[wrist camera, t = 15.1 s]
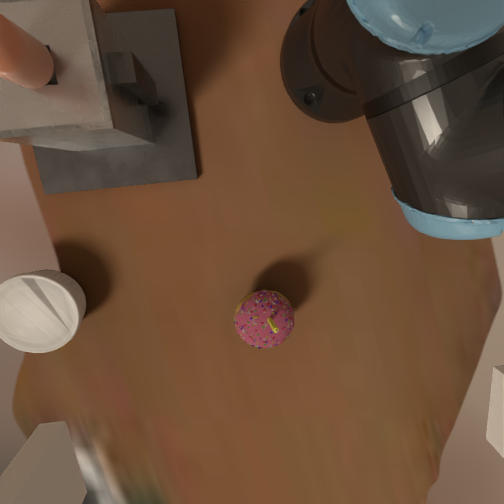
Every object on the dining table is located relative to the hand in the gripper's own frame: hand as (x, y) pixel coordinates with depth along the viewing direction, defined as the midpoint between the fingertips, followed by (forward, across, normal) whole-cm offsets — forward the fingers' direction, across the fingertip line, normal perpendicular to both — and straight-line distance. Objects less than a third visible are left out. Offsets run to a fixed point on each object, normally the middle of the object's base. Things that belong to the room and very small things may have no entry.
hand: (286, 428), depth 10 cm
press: (+38, -16, +17) cm, 44 cm away
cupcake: (+38, +1, -13) cm, 41 cm away
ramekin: (+38, -29, -8) cm, 48 cm away
